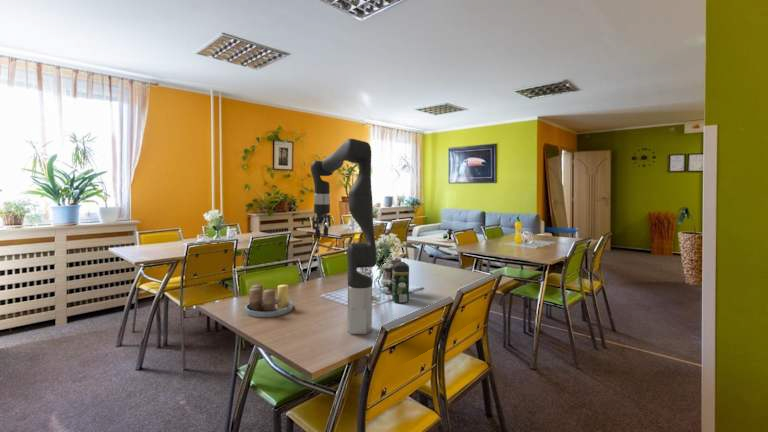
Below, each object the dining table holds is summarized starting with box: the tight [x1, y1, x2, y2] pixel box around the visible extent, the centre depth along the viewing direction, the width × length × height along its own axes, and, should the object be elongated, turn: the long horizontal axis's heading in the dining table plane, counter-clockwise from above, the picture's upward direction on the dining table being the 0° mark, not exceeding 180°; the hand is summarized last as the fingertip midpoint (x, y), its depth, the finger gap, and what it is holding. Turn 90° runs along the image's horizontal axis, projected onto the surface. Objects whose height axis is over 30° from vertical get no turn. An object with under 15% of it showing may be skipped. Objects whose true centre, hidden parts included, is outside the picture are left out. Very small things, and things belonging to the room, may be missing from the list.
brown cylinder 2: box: [263, 288, 276, 312], centre depth 156 cm, size 5×5×10 cm
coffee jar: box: [391, 261, 410, 304], centre depth 177 cm, size 10×8×19 cm
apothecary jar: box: [380, 257, 402, 295], centre depth 191 cm, size 12×12×18 cm
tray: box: [244, 297, 294, 318], centre depth 162 cm, size 20×20×2 cm
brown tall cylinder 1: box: [250, 284, 264, 310], centre depth 163 cm, size 5×5×10 cm
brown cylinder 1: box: [248, 287, 262, 312], centre depth 158 cm, size 5×5×10 cm
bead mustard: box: [277, 284, 289, 310], centre depth 164 cm, size 5×5×10 cm
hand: (321, 237), depth 176 cm, fingers open, 8 cm apart
